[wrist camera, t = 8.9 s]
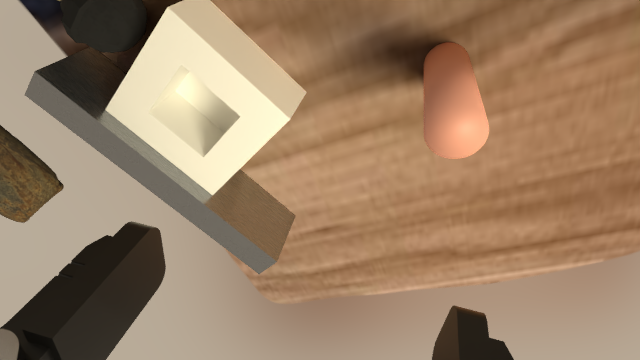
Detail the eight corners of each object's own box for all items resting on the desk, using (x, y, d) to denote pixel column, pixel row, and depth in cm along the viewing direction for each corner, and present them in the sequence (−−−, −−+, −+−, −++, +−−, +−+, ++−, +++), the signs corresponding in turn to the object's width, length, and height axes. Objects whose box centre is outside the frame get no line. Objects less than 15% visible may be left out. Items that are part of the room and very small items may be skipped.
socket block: (142, 85, 34) (105, 109, 30) (203, -9, 29) (167, 6, 25) (235, 162, 37) (212, 195, 33) (307, 90, 31) (290, 118, 27)
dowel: (414, 63, 28) (410, 129, 20) (450, 32, 27) (462, 90, 18) (442, 94, 29) (449, 169, 21) (479, 65, 27) (502, 134, 19)
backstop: (81, 67, 34) (24, 94, 29) (92, 45, 33) (34, 71, 28) (279, 228, 40) (259, 274, 35) (295, 215, 38) (276, 261, 33)
